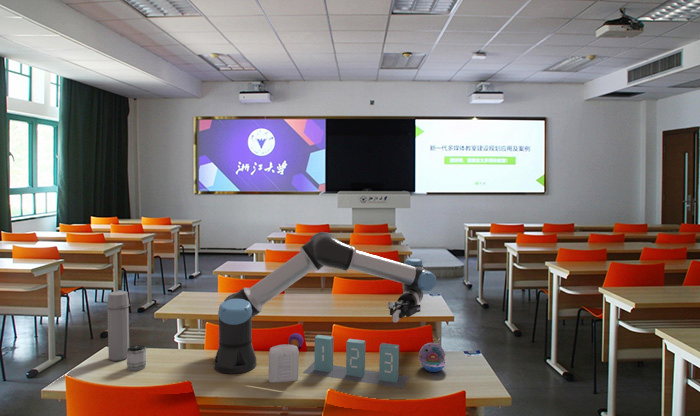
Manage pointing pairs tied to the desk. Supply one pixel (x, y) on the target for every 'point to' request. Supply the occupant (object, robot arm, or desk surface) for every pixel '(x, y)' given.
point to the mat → (367, 378)
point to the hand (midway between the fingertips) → (394, 318)
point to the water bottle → (118, 325)
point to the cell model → (432, 357)
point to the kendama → (296, 340)
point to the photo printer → (283, 363)
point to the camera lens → (136, 357)
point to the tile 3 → (389, 362)
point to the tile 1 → (323, 353)
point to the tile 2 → (355, 358)
